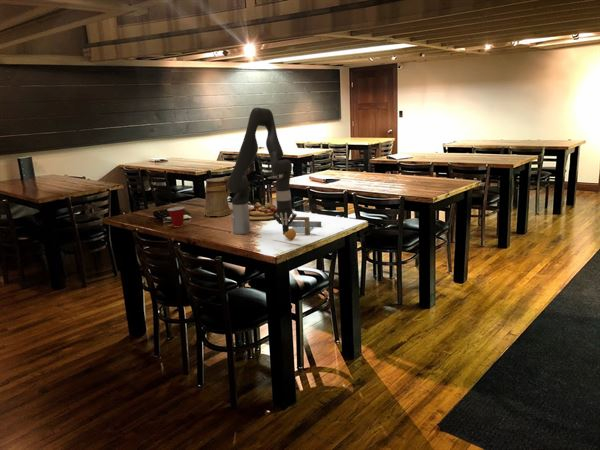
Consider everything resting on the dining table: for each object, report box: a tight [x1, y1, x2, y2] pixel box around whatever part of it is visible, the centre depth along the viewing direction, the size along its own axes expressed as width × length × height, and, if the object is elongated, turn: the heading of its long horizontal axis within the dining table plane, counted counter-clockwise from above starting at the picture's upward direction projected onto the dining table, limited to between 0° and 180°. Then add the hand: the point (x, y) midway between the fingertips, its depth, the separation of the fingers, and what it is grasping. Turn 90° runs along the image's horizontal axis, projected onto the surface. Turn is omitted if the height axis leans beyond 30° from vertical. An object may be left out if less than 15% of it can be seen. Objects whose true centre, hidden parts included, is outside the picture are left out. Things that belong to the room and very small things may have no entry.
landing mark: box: [291, 227, 315, 234], centre depth 289 cm, size 13×13×1 cm
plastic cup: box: [167, 206, 185, 227], centre depth 312 cm, size 11×11×12 cm
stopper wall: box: [289, 220, 322, 228], centre depth 297 cm, size 20×2×3 cm, turn 74°
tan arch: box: [282, 216, 311, 236], centre depth 279 cm, size 3×15×10 cm, turn 74°
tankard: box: [203, 175, 232, 217], centre depth 342 cm, size 18×24×25 cm
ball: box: [284, 227, 297, 240], centre depth 270 cm, size 6×6×6 cm
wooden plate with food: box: [249, 201, 281, 222], centre depth 331 cm, size 32×32×8 cm
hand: (285, 231), depth 260 cm, fingers closed
